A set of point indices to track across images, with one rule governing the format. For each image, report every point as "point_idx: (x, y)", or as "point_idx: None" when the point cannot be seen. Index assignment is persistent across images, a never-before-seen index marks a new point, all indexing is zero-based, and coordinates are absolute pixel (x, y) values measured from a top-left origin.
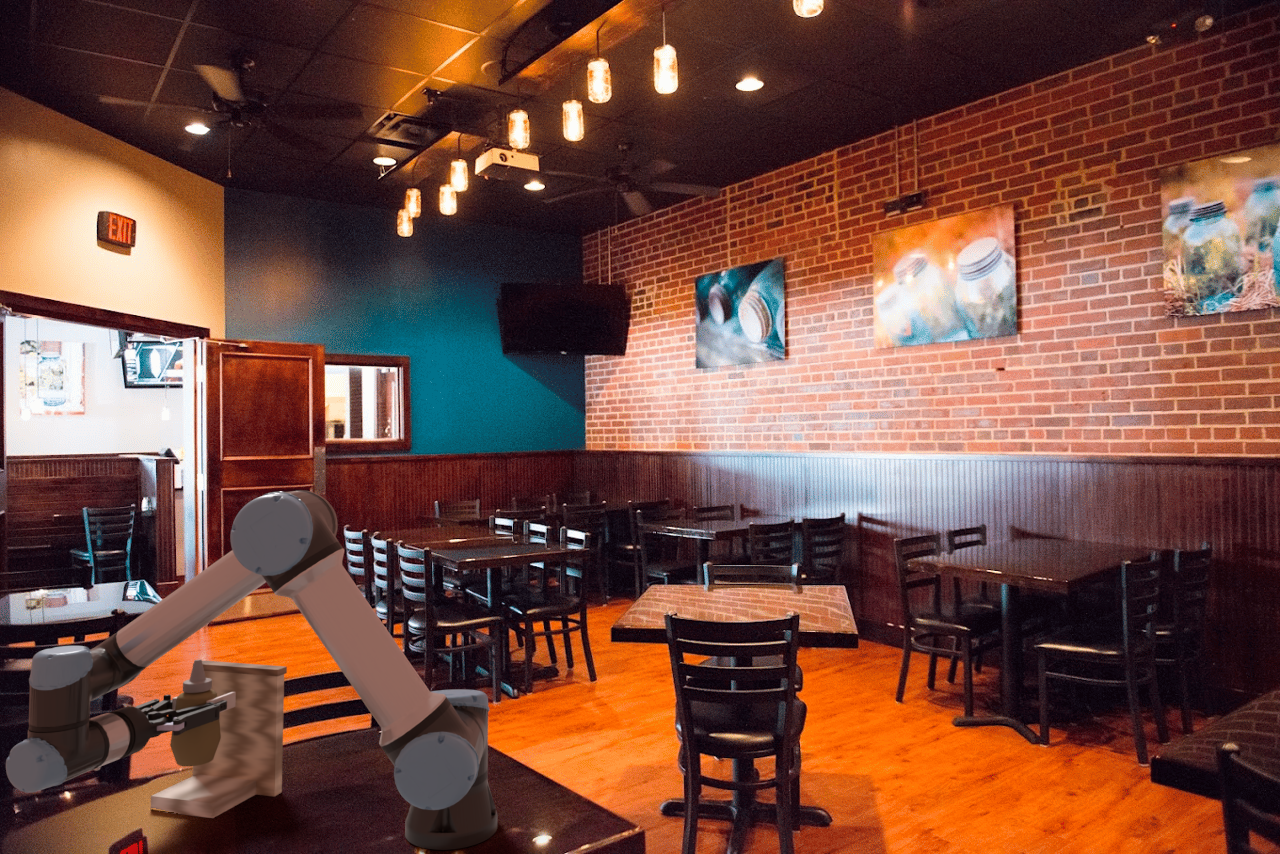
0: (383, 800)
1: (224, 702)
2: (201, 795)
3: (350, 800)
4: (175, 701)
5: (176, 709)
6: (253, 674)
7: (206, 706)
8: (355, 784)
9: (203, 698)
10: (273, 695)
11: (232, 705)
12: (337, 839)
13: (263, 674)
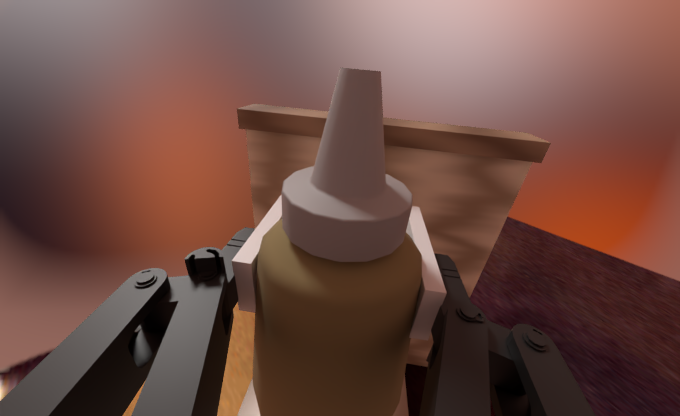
0: (618, 367)
1: (455, 269)
2: None
3: (572, 372)
4: (250, 274)
5: (278, 330)
6: (452, 152)
7: (484, 350)
8: (507, 311)
9: (414, 281)
10: (497, 211)
11: None
12: None
13: (490, 154)
